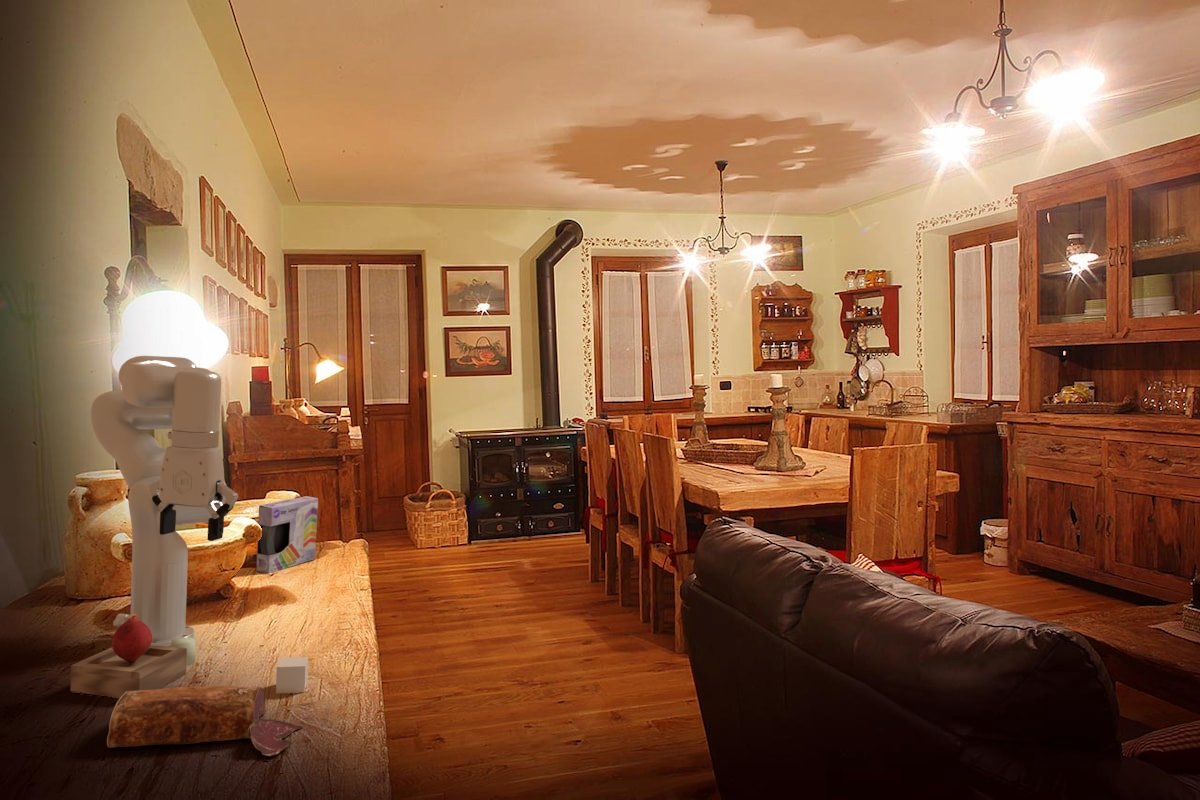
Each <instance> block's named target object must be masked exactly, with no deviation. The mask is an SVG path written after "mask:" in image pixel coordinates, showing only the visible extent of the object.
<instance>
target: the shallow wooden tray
mask: <svg viewBox="0 0 1200 800" xmlns="http://www.w3.org/2000/svg"><path fill="white" fill-rule="evenodd" d="M186 658H187V648H176V647H171V646H170V647H166V646H156V645H151V646H150V647H149V649H148V650H147V651H146V652H145V653H144V654H143V655H142V656H141V657H139V658H138V659H137V660H136V661H135V662H131V663H130V662H128V661H126V660H124V659H122V658H120V657H119V656H117V655H116V654H115V652H114V651H113V647H112V646H111V647H110V648H107V649H106V650H102V651H100V652H98V653H95V654H94V655H91V656H89V657H87V658H84V659H82V660H80V661H78V662H76V663H73V664H72V665H70V689H69V690H70V691H76V692H82V693H87V694H96V695H103V696H108V697H107V698H110V697H112V699H120V698H121V696H123V694H124V693H125V692H126V691H142V690H156V689H163V688H164V687H166V686H168V685H169V684H172V683H173V682H175V681H176V679H177V680H179V679H180V678H182V677H184V676H186V675H185V674H187V666H186ZM183 675H184V676H183ZM174 680H175V681H174ZM167 684H168V685H167ZM165 685H166V686H165ZM70 691H69V692H70Z"/></svg>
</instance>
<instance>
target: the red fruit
mask: <svg viewBox="0 0 1200 800" xmlns="http://www.w3.org/2000/svg"><path fill="white" fill-rule="evenodd" d="M138 617H139V616H138V615H136V614H134V615H132V616H131V617H130V618H129V619H128V620H127V621H126V622H125V623H123V624H122V625H121V626H120V627H117V629H116V630H115V631H114V634H113V635H112V640H111V648H112V647H113V651H114V652H115V654H116V655H117V656H119V657H120V658H122V659H124V660H126V661H128V662H130V663H131V662H135V661H136V660H137V659H138V658H139V657H141V656H142V655H143V654H144V653H145V652H146V651H147V650H148V649H149V647H150V646H151V643H152V633H151V631H150V629H149V628H148V626H147V625H146V624H144V623H143V622H141V621H139V620H138Z"/></svg>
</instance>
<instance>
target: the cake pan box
mask: <svg viewBox="0 0 1200 800" xmlns="http://www.w3.org/2000/svg"><path fill="white" fill-rule="evenodd" d="M318 507H319V498H318V497H313V496H306V495H305V496H302V497H300V496H299V497H297V498H290V499H289V498H287V499H283V500H278V501H274V502H269V503H264V504H259V505H258V524H259V525H260V526H261V528H262V537H261V539H260V540H259V541H258V540H257V548H256V550H257V551H256V570H255V571H256V572H258V573H264V574H271V573H274V572H278V571H282V570H286V569H288V568H291V567H294V566H297V565H301V564H303V563H304V564H305V563H307V562H310V561H313V560H315V559H316V547H317V531H318V530H317V528H318V527H317V526H318V509H319V508H318ZM258 524H257V525H258Z"/></svg>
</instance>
